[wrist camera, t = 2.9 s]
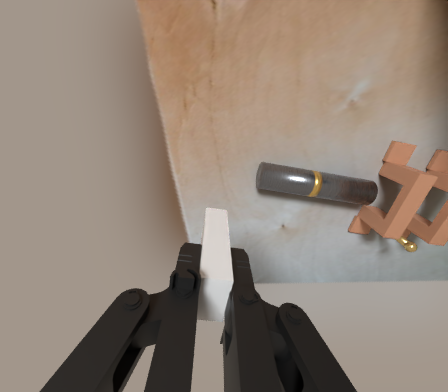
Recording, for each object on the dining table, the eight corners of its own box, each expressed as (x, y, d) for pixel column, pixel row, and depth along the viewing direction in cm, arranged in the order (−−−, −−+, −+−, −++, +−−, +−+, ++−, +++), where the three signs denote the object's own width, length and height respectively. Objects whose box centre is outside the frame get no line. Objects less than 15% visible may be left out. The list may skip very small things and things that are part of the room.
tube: (254, 182, 31) (258, 192, 28) (260, 158, 30) (265, 166, 26) (354, 198, 33) (369, 209, 29) (364, 176, 31) (382, 186, 28)
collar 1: (392, 140, 29) (430, 149, 24) (413, 144, 29) (455, 154, 24) (347, 229, 35) (370, 253, 30) (365, 232, 35) (391, 255, 30)
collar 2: (437, 149, 30) (484, 160, 25) (456, 153, 30) (507, 164, 25) (386, 235, 36) (415, 258, 31) (403, 237, 36) (434, 261, 31)
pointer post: (378, 217, 34) (411, 241, 28) (391, 219, 35) (427, 244, 29) (371, 229, 35) (402, 255, 29) (384, 231, 36) (417, 257, 30)
